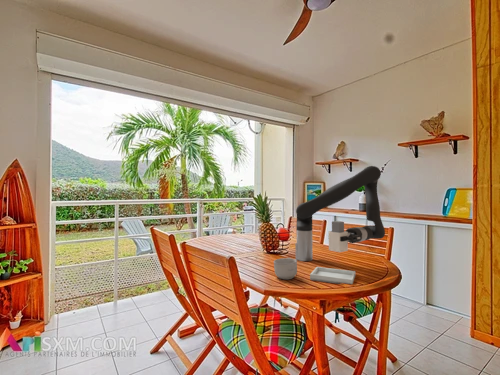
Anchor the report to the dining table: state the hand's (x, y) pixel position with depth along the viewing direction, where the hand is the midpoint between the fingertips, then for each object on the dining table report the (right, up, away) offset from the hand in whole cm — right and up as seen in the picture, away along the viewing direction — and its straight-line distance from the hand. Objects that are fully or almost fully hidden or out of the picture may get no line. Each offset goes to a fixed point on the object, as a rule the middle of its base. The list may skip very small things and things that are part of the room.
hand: (334, 238), depth 129 cm
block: (+2, -5, +1) cm, 6 cm away
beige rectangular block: (+2, -6, +1) cm, 7 cm away
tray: (-2, -18, -4) cm, 18 cm away
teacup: (-23, -18, -2) cm, 29 cm away
